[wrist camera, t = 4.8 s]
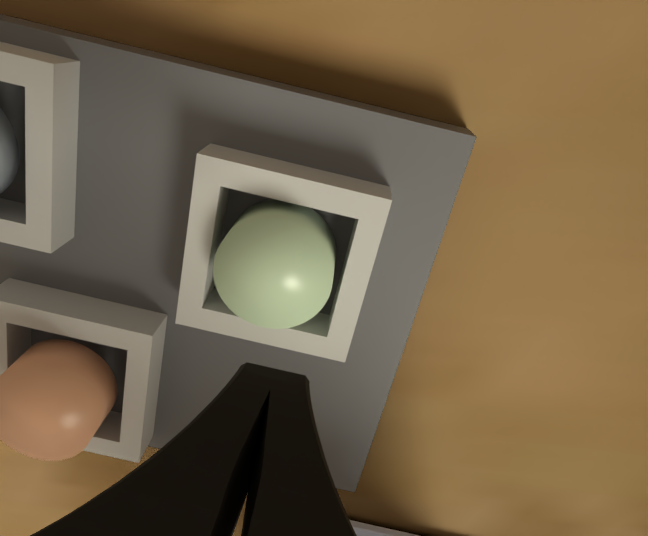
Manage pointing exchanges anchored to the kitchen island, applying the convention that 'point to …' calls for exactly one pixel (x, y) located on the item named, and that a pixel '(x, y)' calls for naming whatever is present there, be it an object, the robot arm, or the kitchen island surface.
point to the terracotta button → (55, 399)
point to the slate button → (7, 152)
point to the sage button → (276, 264)
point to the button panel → (208, 229)
